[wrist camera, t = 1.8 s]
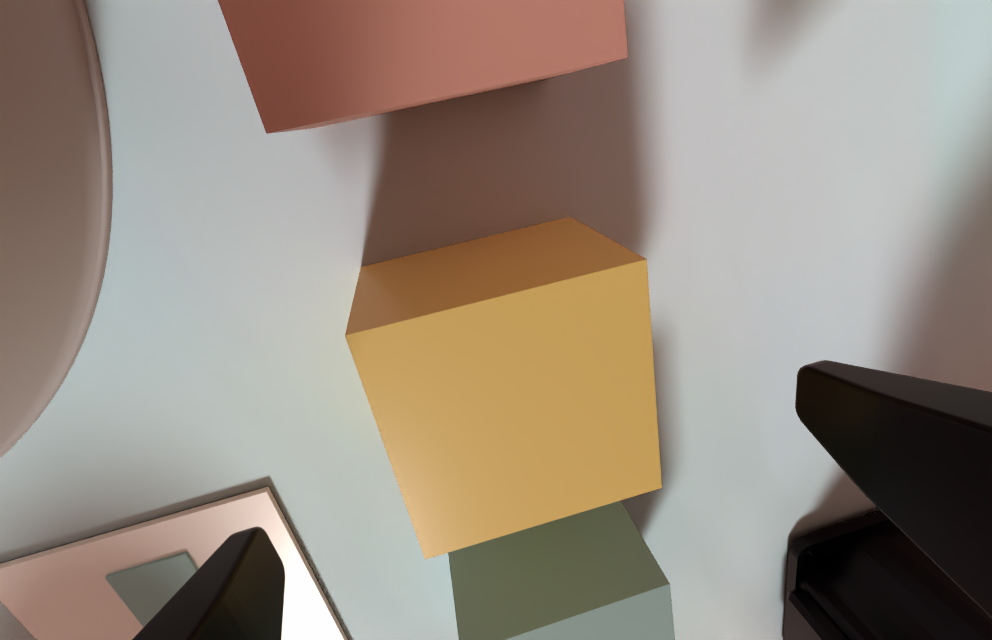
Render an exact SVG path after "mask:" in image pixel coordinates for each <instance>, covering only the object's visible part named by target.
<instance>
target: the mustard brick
mask: <svg viewBox="0 0 992 640" xmlns="http://www.w3.org/2000/svg"><path fill="white" fill-rule="evenodd" d="M345 337H346V340H347V343H348V345H349V348H350V351H351V354H352V356H353V359H354V362H355V365H356V368H357V370H358V373H359V376H360V379H361V382H362V384H363V387H364V390H365V393H366V396H367V398H368V401H369V404H370V407H371V410H372V412H373V415H374V418H375V421H376V424H377V426H378V429H379V432H380V435H381V437H382V440H383V443H384V446H385V449H386V451H387V454H388V457H389V460H390V463H391V465H392V468H393V471H394V474H395V477H396V479H397V482H398V485H399V488H400V491H401V493H402V496H403V499H404V502H405V505H406V507H407V510H408V513H409V516H410V519H411V521H412V524H413V527H414V530H415V532H416V535H417V538H418V541H419V544H420V546H421V549H422V552H423V555H424V558H425V559H428V558H432V557H435V556H438V555H442V554H445V553H448V552H452V551H455V550H458V549H461V548H465V547H468V546H471V545H475V544H478V543H481V542H485V541H488V540H491V539H495V538H498V537H501V536H504V535H508V534H511V533H514V532H518V531H521V530H524V529H528V528H531V527H534V526H537V525H541V524H544V523H547V522H551V521H554V520H557V519H561V518H564V517H567V516H571V515H574V514H577V513H580V512H584V511H587V510H590V509H594V508H597V507H600V506H604V505H607V504H610V503H614V502H617V501H620V500H623V499H627V498H630V497H633V496H637V495H640V494H643V493H647V492H650V491H653V490H657V489H660V488H662V483H661V468H660V452H659V437H658V422H657V407H656V392H655V377H654V362H653V347H652V332H651V317H650V302H649V287H648V272H647V259H645V258H643V257H641V256H640V255H638V254H636V253H634V252H633V251H631V250H629V249H627V248H625V247H624V246H622V245H620V244H618V243H616V242H615V241H613V240H611V239H609V238H607V237H606V236H604V235H602V234H600V233H598V232H597V231H595V230H593V229H591V228H590V227H588V226H586V225H584V224H582V223H581V222H579V221H577V220H575V219H573V218H572V217H566V218H562V219H558V220H554V221H550V222H546V223H541V224H537V225H533V226H529V227H525V228H521V229H516V230H512V231H508V232H504V233H500V234H496V235H491V236H487V237H483V238H479V239H475V240H471V241H466V242H462V243H458V244H454V245H450V246H446V247H441V248H437V249H433V250H429V251H425V252H421V253H416V254H412V255H408V256H404V257H400V258H396V259H391V260H387V261H383V262H379V263H375V264H371V265H366V266H362V267H361V269H360V273H359V277H358V282H357V286H356V290H355V295H354V299H353V303H352V308H351V312H350V316H349V321H348V325H347V329H346V334H345Z"/></svg>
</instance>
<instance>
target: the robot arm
mask: <svg viewBox="0 0 992 640" xmlns="http://www.w3.org/2000/svg"><path fill="white" fill-rule="evenodd" d="M795 408H796V412H797V415H798V417H799V418H800V420H801V422H802V423H803V424H804V425H805V426H806V427H807V429H808V430H809V431H810V432H811V433H812V434H813V436H814V437H815V438H816V439H817V440H818V441H819V443H820V444H821V445H822V446H823V447H824V448H825V450H826V451H827V452H828V453H829V454H830V455H831V456H832V458H833V459H834V460H835V461H836V462H837V463H838V465H839V466H840V467H841V468H842V469H843V470H844V472H845V473H846V474H847V475H848V476H849V477H850V479H851V480H852V481H853V482H854V483H855V484H856V485H857V486H858V488H859V489H860V490H861V491H862V492H863V493H864V494H865V495H866V496H867V497H868V498H869V499H870V500H871V501H872V502H873V503H874V504H875V505H876V506H877V507H878V508H879V509H880V511H877V512H874V513H871V514H868V515H865V516H862V517H859V518H856V519H853V520H850V521H847V522H844V523H841V524H838V525H835V526H832V527H829V528H826V529H823V530H820V531H817V532H814V533H811V534H808V535H805V536H802V537H800V538H798V539H796V540H795V541H794V542H793V543H792V544H791V546H790V548H789V557H788V572H787V587H786V602H785V617H784V632H783V640H992V392H988V391H983V390H977V389H972V388H967V387H962V386H957V385H952V384H946V383H941V382H936V381H931V380H926V379H921V378H915V377H910V376H905V375H900V374H895V373H890V372H884V371H879V370H874V369H869V368H864V367H859V366H853V365H848V364H843V363H838V362H833V361H827V360H824V361H818V362H815V363H812V364H808V365H805V366H803V367H801V368H800V369H799V371H798V374H797V387H796V403H795ZM284 590H285V570H284V565H283V562H282V560H281V558H280V557H279V555H278V553H277V551H276V549H275V547H274V546H273V544H272V542H271V540H270V538H269V536H268V535H267V533H266V531H265V530H264V529H263V528H261V527H253V528H249V529H246V530H242V531H239V532H236V533H233V534H232V535H230V536H229V537H228V538H227V539H226V540H225V541H224V542H223V543H222V544H221V546H220V547H219V548H218V549H217V550H216V551H215V552H214V553H213V554H212V555H211V556H210V557H209V558H208V559H207V560H206V561H205V563H204V564H203V565H202V566H201V567H200V568H199V569H198V570H197V571H196V572H195V573H194V574H193V575H192V576H191V577H190V578H189V580H188V581H187V582H186V583H185V584H184V585H183V586H182V587H181V588H180V589H179V590H178V591H177V592H176V593H175V594H174V595H173V597H172V598H171V599H170V600H169V601H168V602H167V603H166V604H165V605H164V606H163V607H162V608H161V609H160V610H159V611H158V612H157V614H156V615H155V616H154V617H153V618H152V619H151V620H150V621H149V622H148V623H147V624H146V625H145V626H144V627H143V628H142V629H141V631H140V632H139V633H138V634H137V635H136V636H135V637H134V638H133V639H132V640H281V636H282V621H283V605H284Z"/></svg>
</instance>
